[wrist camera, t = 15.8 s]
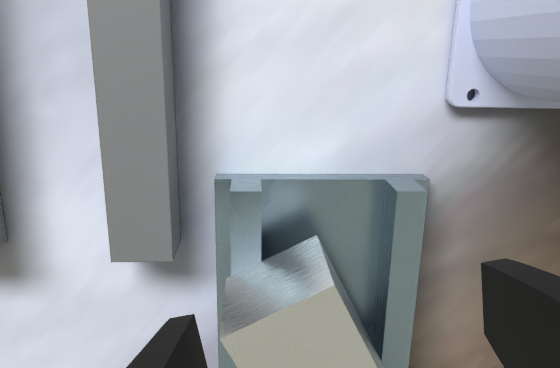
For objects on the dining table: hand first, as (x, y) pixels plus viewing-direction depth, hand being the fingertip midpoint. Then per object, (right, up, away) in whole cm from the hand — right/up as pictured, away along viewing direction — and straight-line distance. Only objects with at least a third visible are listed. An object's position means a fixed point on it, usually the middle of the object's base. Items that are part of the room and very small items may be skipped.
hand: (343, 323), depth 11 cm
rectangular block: (0, -4, +8) cm, 9 cm away
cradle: (0, -3, +11) cm, 11 cm away
